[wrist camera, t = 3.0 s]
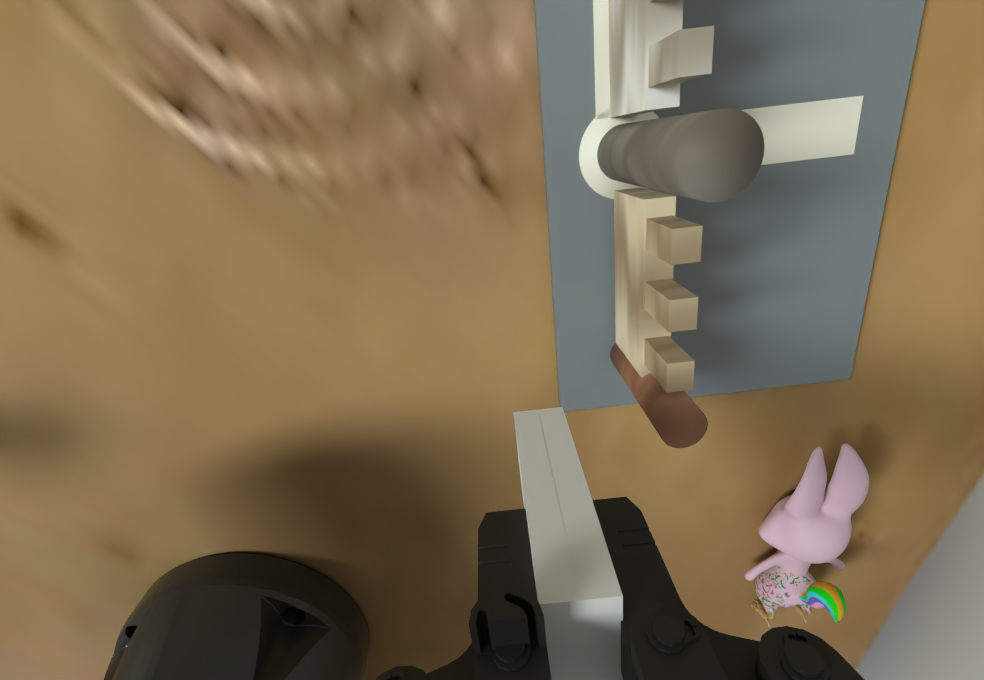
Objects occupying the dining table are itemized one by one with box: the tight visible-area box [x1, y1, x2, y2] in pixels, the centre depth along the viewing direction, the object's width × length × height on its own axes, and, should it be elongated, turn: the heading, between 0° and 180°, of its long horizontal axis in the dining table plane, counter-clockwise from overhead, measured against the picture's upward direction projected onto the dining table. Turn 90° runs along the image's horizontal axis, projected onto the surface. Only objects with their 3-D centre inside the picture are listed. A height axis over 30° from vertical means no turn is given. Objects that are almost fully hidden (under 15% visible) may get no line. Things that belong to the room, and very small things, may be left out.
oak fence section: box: [610, 187, 708, 448], centre depth 20 cm, size 9×2×7 cm, turn 6°
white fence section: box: [597, 0, 764, 202], centre depth 15 cm, size 12×2×9 cm, turn 6°
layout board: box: [534, 0, 925, 412], centre depth 22 cm, size 25×16×1 cm, turn 6°
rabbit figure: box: [745, 443, 869, 627], centre depth 28 cm, size 6×6×15 cm
